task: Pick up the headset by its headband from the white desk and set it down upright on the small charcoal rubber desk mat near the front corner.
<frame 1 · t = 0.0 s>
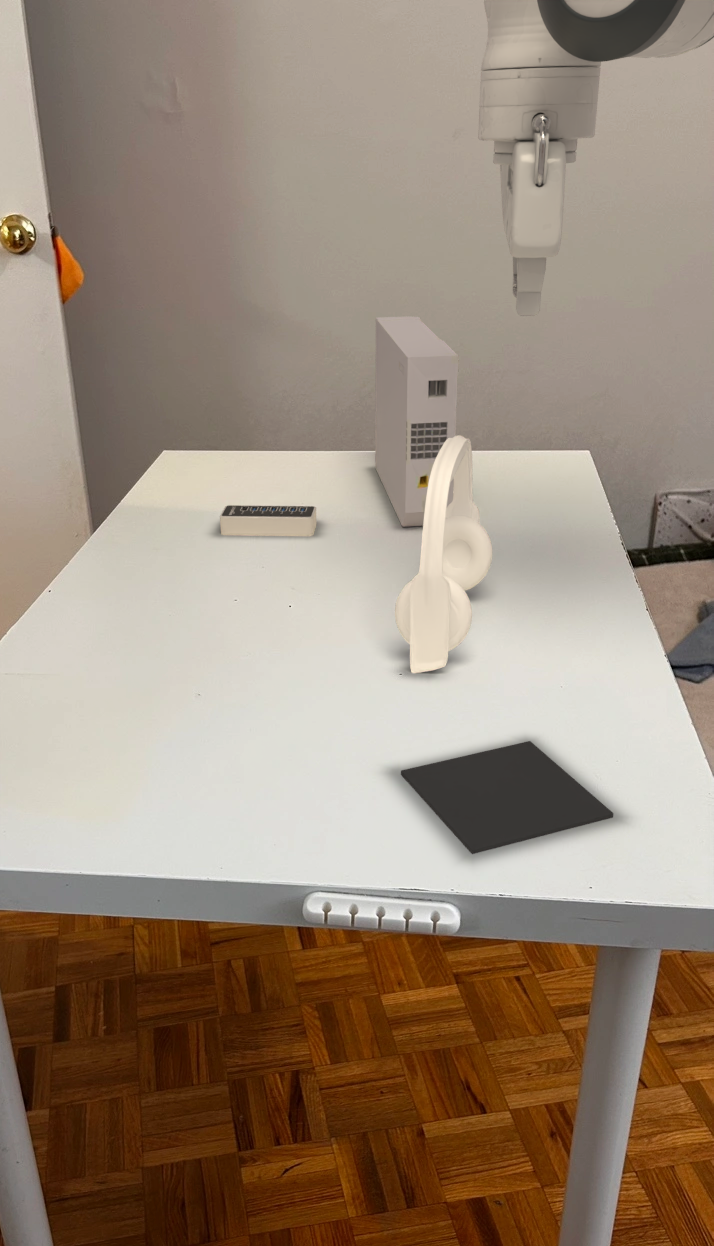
hand: (524, 305, 91), 29 cm above the table, tool pointing down, fingers open, 8 cm apart
desk mat: (503, 795, 79), on the table
game console: (411, 499, 141), on the table
headset: (442, 634, 104), on the table
multiport hub: (269, 531, 132), on the table
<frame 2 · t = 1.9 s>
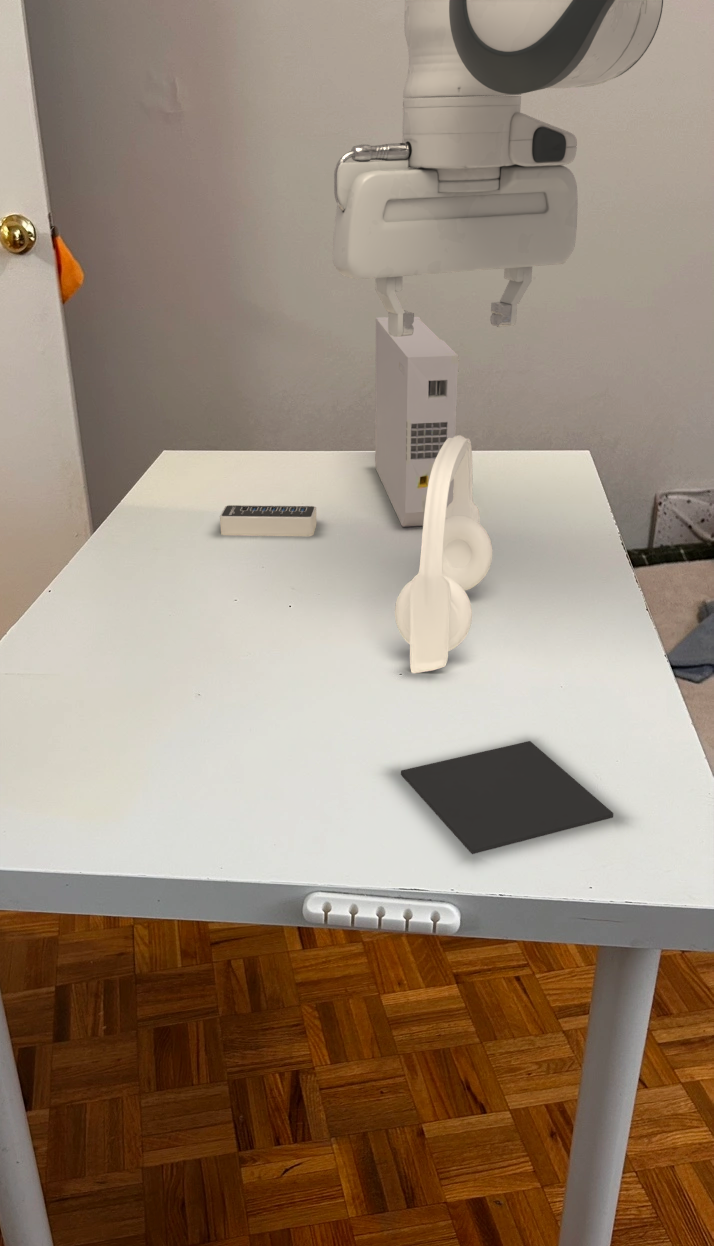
hand: (452, 330, 91), 27 cm above the table, tool pointing down, fingers open, 8 cm apart
nothing on the table moved.
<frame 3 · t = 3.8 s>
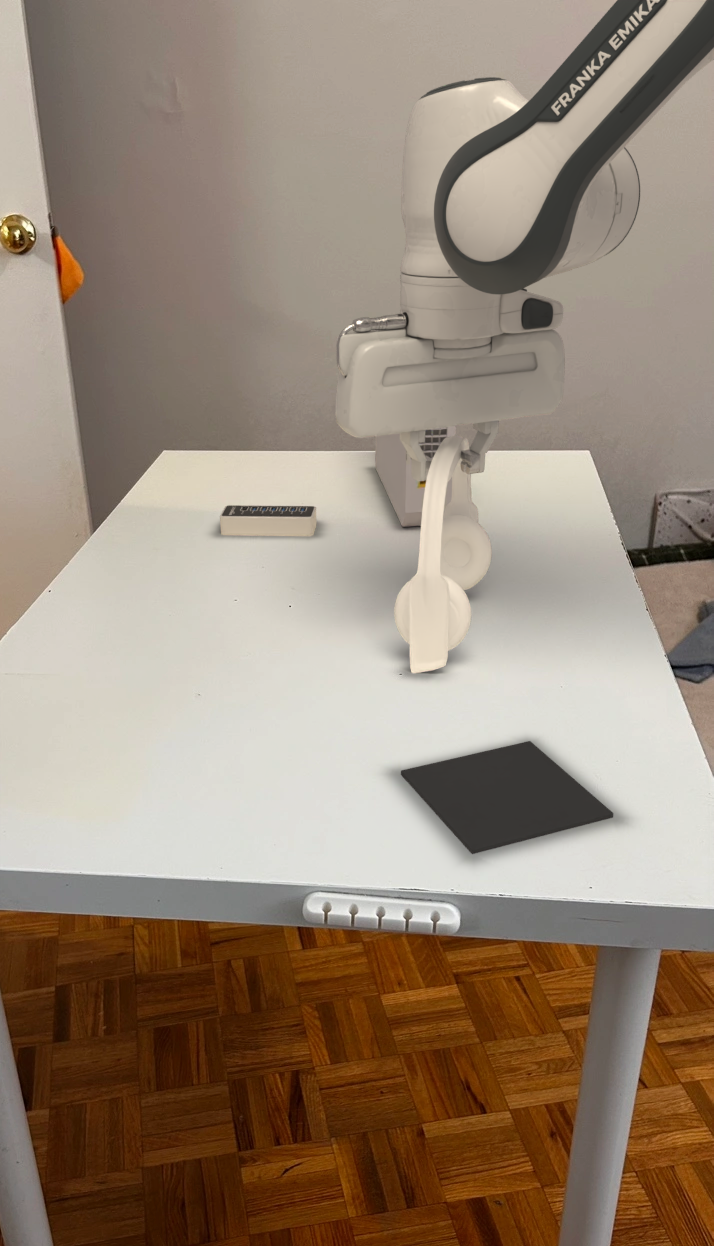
hand: (448, 475, 97), 15 cm above the table, tool pointing down, fingers closed on headset, 3 cm apart
headset: (442, 634, 104), on the table, touching gripper
everything else where it was.
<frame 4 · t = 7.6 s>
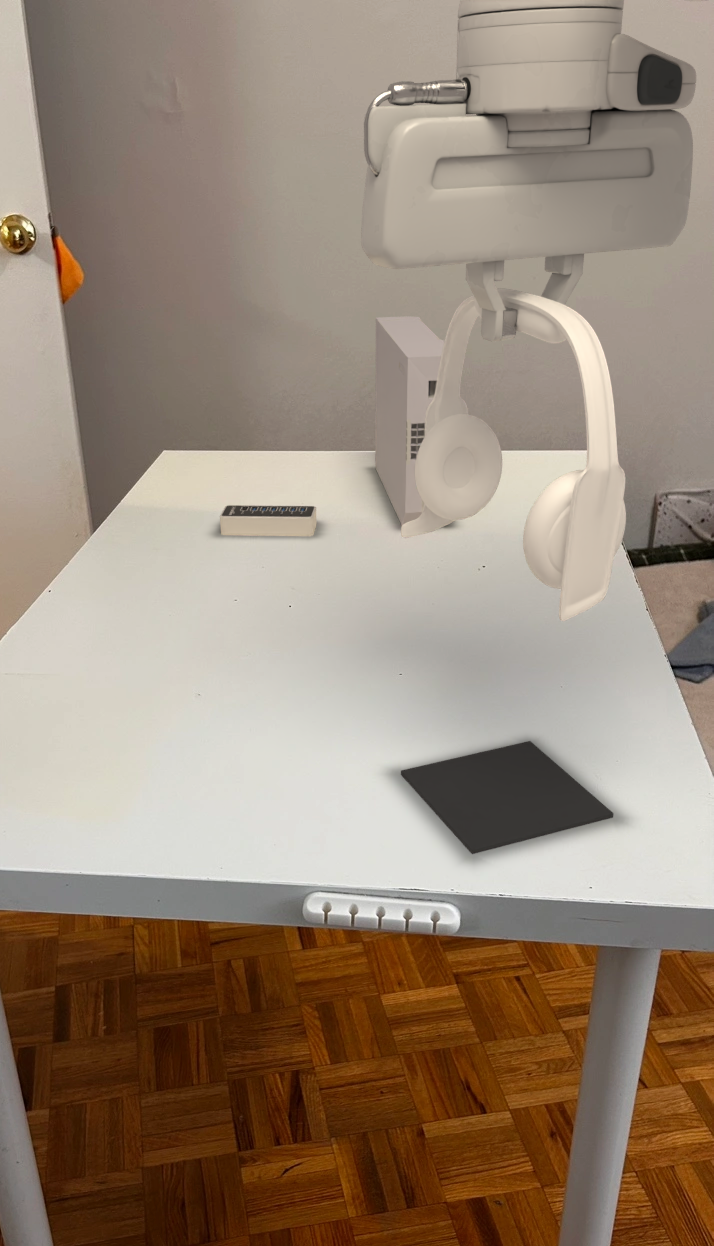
hand: (521, 337, 68), 31 cm above the table, tool pointing down, fingers closed on headset
headset: (505, 573, 75), point 15 cm above the table, touching gripper
everything else where it was.
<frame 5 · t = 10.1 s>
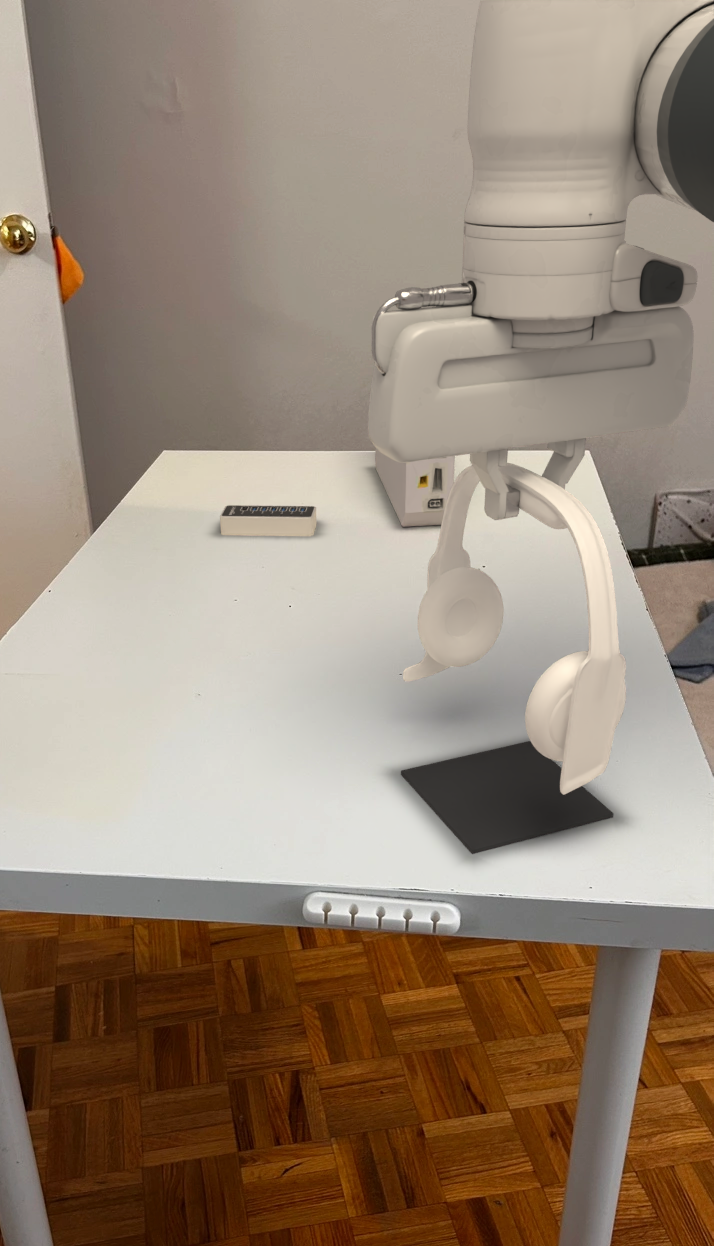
hand: (523, 513, 69), 21 cm above the table, tool pointing down, fingers closed on headset
headset: (506, 729, 77), point 6 cm above the table, touching gripper
everything else where it was.
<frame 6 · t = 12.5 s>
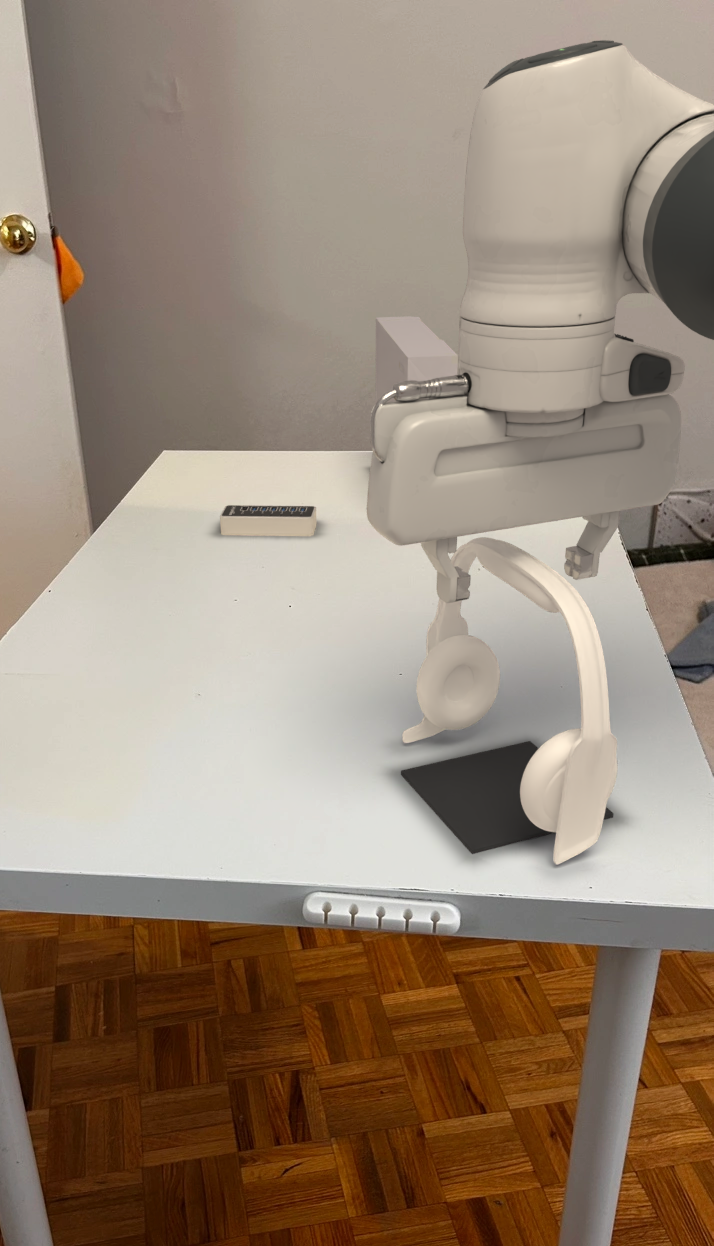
hand: (517, 587, 72), 16 cm above the table, tool pointing down, fingers open, 8 cm apart
headset: (502, 794, 79), on the table, touching desk mat
everything else where it was.
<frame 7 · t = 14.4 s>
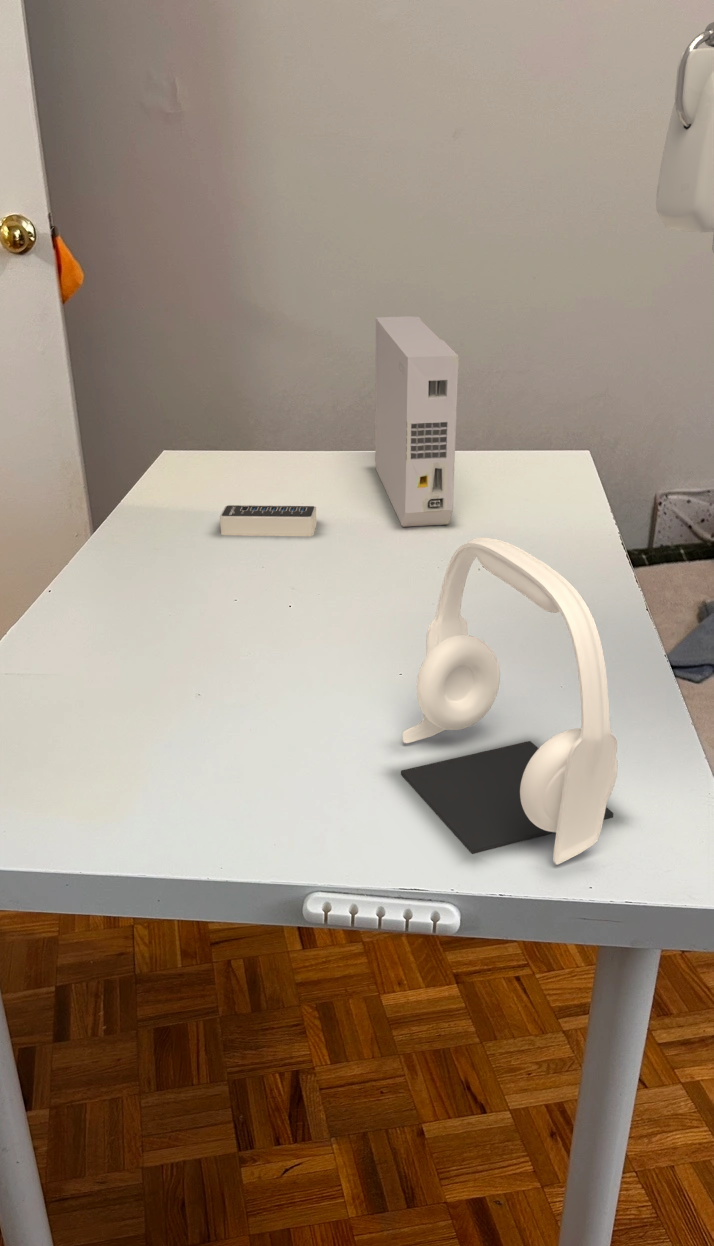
nothing on the table moved.
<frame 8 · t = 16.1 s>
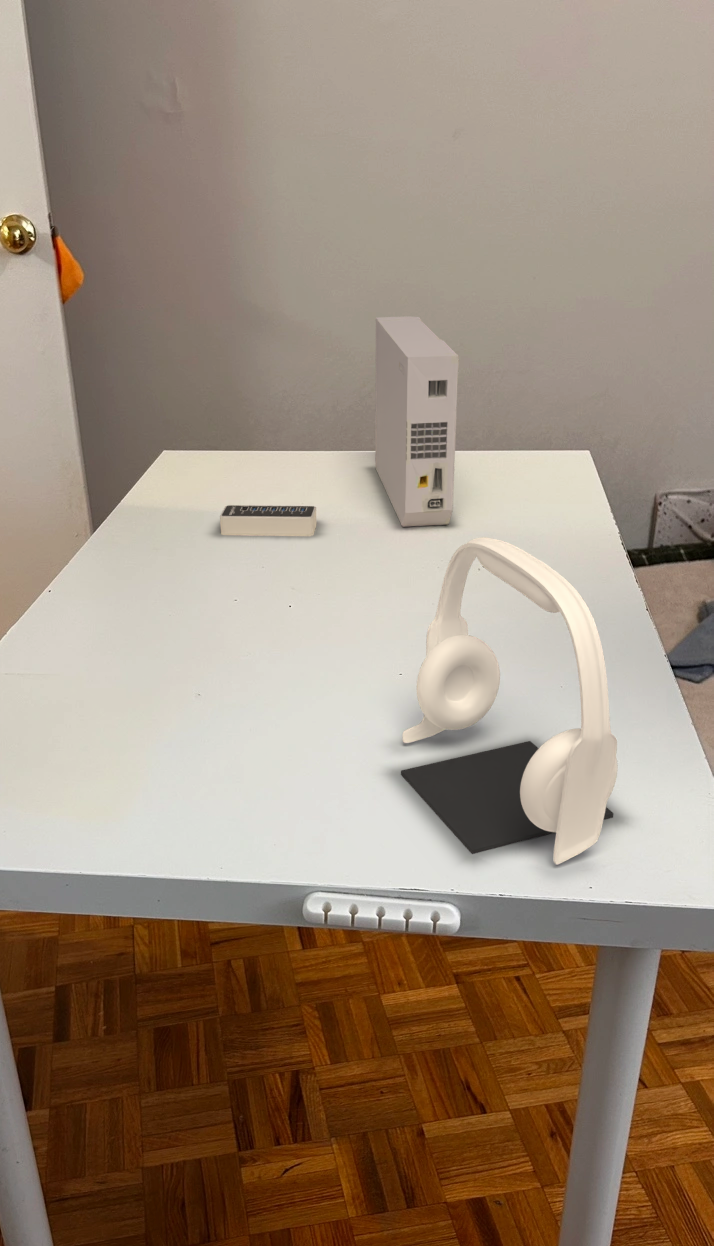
nothing on the table moved.
at the end: headset inside the target area on the desk mat (0.1 cm from its centre), point 0.2 cm above the desk mat's base; headset tilted 0°; the gripper is holding nothing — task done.
